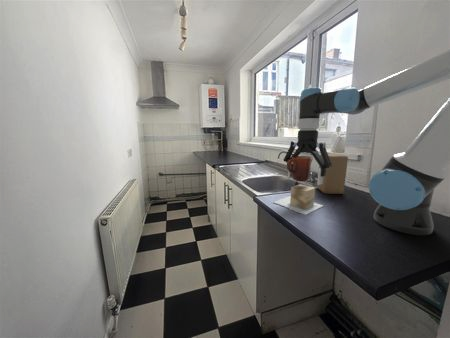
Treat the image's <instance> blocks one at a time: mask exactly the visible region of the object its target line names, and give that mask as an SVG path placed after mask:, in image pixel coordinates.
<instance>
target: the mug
mask: <svg viewBox="0 0 450 338" xmlns="http://www.w3.org/2000/svg"><path fill="white" fill-rule="evenodd" d="M291 158H292V159H290V160H288V161H287V162H286V170H287V172H288V171H289V172H290V173H292V180H294V181H295V182H308V181H309V180H310V178H311V165H312V162H313V159H314V157H313V156H311V155H310V156H308V155H298V156H297V157H296V158H294V157H291ZM291 161H292V162H293V167H292V171H291V169H290V162H291Z"/></svg>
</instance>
